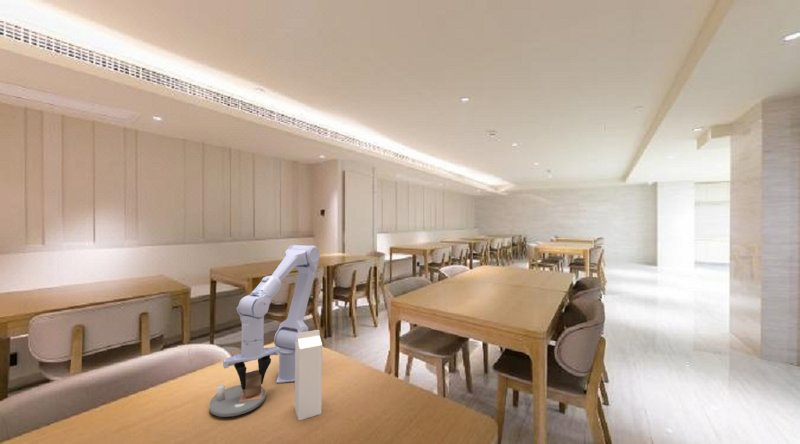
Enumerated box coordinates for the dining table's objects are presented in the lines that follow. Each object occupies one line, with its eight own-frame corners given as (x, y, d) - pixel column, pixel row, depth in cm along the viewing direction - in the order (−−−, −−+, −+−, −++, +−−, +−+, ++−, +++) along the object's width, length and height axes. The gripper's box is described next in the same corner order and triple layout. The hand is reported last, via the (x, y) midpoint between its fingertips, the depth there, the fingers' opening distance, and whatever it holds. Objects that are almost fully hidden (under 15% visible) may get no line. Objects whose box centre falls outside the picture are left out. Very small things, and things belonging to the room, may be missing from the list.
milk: (321, 414, 84) (323, 333, 84) (298, 421, 81) (300, 337, 81) (315, 402, 89) (317, 326, 89) (293, 408, 86) (295, 329, 86)
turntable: (268, 385, 97) (268, 370, 97) (261, 412, 83) (261, 394, 83) (218, 391, 93) (218, 375, 93) (201, 420, 79) (201, 402, 79)
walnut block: (257, 386, 92) (257, 369, 92) (261, 392, 89) (261, 375, 89) (242, 391, 89) (242, 373, 89) (245, 397, 86) (246, 379, 86)
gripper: (274, 328, 96) (273, 372, 97) (221, 339, 87) (220, 387, 87) (282, 335, 91) (281, 381, 91) (226, 347, 82) (225, 399, 82)
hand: (252, 385), depth 89 cm, fingers closed on walnut block, 4 cm apart
